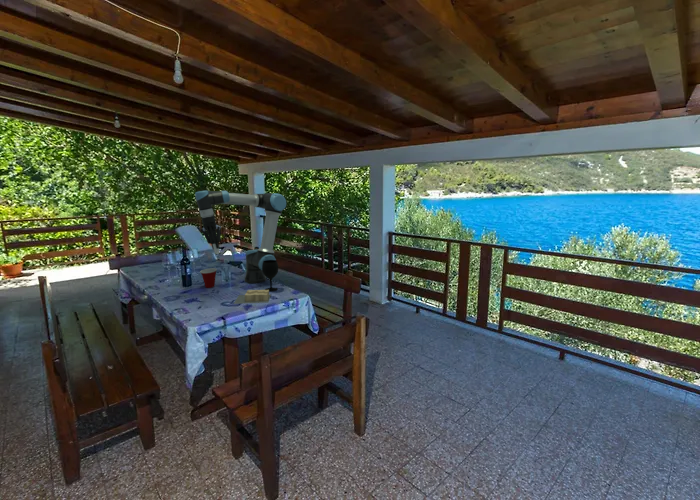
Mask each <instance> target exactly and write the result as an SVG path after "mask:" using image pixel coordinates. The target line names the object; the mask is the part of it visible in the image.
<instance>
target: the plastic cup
mask: <svg viewBox="0 0 700 500" xmlns="http://www.w3.org/2000/svg"><path fill="white" fill-rule="evenodd" d="M217 270H218V269H217V268H215V267H212V268H210V267H209V268H205V269H204V268H203V269H202V270H200V271H199V273H200V274H201V277H202V280H203V283H204V286H205V288H206V289H211V288H215V285H216V284H215V283H216V275H217Z"/></svg>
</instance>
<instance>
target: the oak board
mask: <svg viewBox="0 0 700 500" xmlns="http://www.w3.org/2000/svg"><path fill="white" fill-rule="evenodd" d="M269 294H270V292H269V290H265V289H248V290H246V292H245V294H244V295H245V302H250V301H267V300H268V298H269Z"/></svg>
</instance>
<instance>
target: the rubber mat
mask: <svg viewBox="0 0 700 500" xmlns="http://www.w3.org/2000/svg"><path fill="white" fill-rule="evenodd" d="M271 296H272V293H269V298H268V300H267V301H250V302H245V294H239V295H238V296H237V298H236V299H235V301H234V303H233V304H236V305H238V304H262V303H263V304H265V303H267V304H268V303H269V302H270V300H271V299H270V298H271Z"/></svg>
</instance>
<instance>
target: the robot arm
mask: <svg viewBox="0 0 700 500" xmlns="http://www.w3.org/2000/svg"><path fill="white" fill-rule="evenodd" d="M194 195H195V200H196V204H197V207H198V211H199V213H200V218H201V222H202V223H201V224H202V228H200V232H201V233H202V234H203V236H204V238H205V240H206V241H207V244H209V245H211V247H212V249H213V251H214V254H215V255H218V254H220V253H221V252H220V249H219V248H220V245H219V243H220V242H222V241H221V234H222V233H221V229H222V226H221V225H218V224H217V221H216V217H215V216H214V215H215V214H214V213H215V212H214V210H213V206H216V205H220V204H222V205H223V204H224V205H225V204H226V205H239V206H240V205H241V206H252V207H254V208H260V209H264V212H265V220H264V227H263V230H262V236H261V242H260V247H259V248H258V249H256V248H255V249H249V250H246V251H245V263H246V273H245V275H244V282H245V283H247V284H259V283H260V284H261V283H263V282H266V281H267V277H266V276H265V275H264V274H263V271H262V265H263V261H265V260H276V261H277V259H276V257H275V251H274V244H275V241H276V233H277V227H278V221H279V217H280V216H281V215H282V212H283V211H284V209H286V207H287V200H286V198H285V195H282V194H280V193H272V192H271V193H270V192H267V193H254V194H249V193H248V194H246V193H235V192H228V191H227V190H220V191H218V190H217V191H212V190H200V191H196V192H195V193H194Z"/></svg>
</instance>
